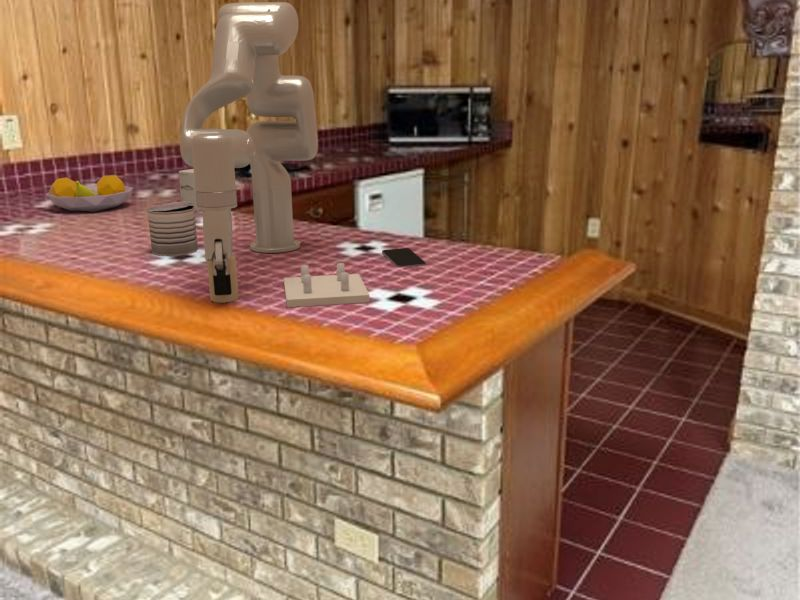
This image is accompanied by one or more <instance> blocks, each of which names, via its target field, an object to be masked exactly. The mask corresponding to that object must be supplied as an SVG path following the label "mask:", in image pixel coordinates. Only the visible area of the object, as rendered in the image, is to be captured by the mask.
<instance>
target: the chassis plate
mask: <svg viewBox="0 0 800 600" xmlns="http://www.w3.org/2000/svg"><path fill="white" fill-rule="evenodd" d="M309 269H310V266H309V264H301V265H300V276H294V277H283V286H284V287H283V288H284V292H285V293H284V294H285V295H284V296H285V303H286V308H298V307H297V306H301V307H317V306H329V305H332V306H333V305H346V304H347V305H348V304H363V303H364V304H365V303H370V301H371V300H370V299H371V298H370V293H369V291H368V289H367V288H366V285H365V284H364V281H363V279H362V277H361V275H360V274H359V273H349V272H347V271H345V263H344V262H339V263H336V274H333V275H331V274H330V275H329V274H328V275H314V276H312V275H311V274H310V273H309V272H310V270H309Z"/></svg>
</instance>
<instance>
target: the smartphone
mask: <svg viewBox="0 0 800 600" xmlns="http://www.w3.org/2000/svg"><path fill="white" fill-rule="evenodd" d="M381 254H382V255H383V256H384V257H385V258H386V259H387V260H388V261H390V262H391V263H392V264H393V265H394V266H395V267H397V268H408V267H409V268H410V267H420V266H421V267H422V266H426V265H427V262H426V261H425V260H424V259H422V258H421V257H420V256H419V255H418V254H416V253H415V252H414V250H412V249H411V248H410V247H409V248H408V247H401V248H400V247H399V248H390V249H389V248H388V249H382V250H381Z"/></svg>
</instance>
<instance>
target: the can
mask: <svg viewBox="0 0 800 600" xmlns="http://www.w3.org/2000/svg"><path fill="white" fill-rule="evenodd" d="M192 204H195V203H193V202H191V201H187V202H181V201H174V202H173V201H172V202H168V203H163V204H156V205H154V206H150V207H148V208H146V210H147V211H146V212H147V219H148V228H149V236H150V246H151V247H150V248H151V253H152V254H153V255H155V256H158V257H178V256H187V255H190V254H194V253H196V252H197V251H198V250H199V247H198V238H197V235H198V234H197V224H196V213H195V212H196V211H194V206H191V205H192Z"/></svg>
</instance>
